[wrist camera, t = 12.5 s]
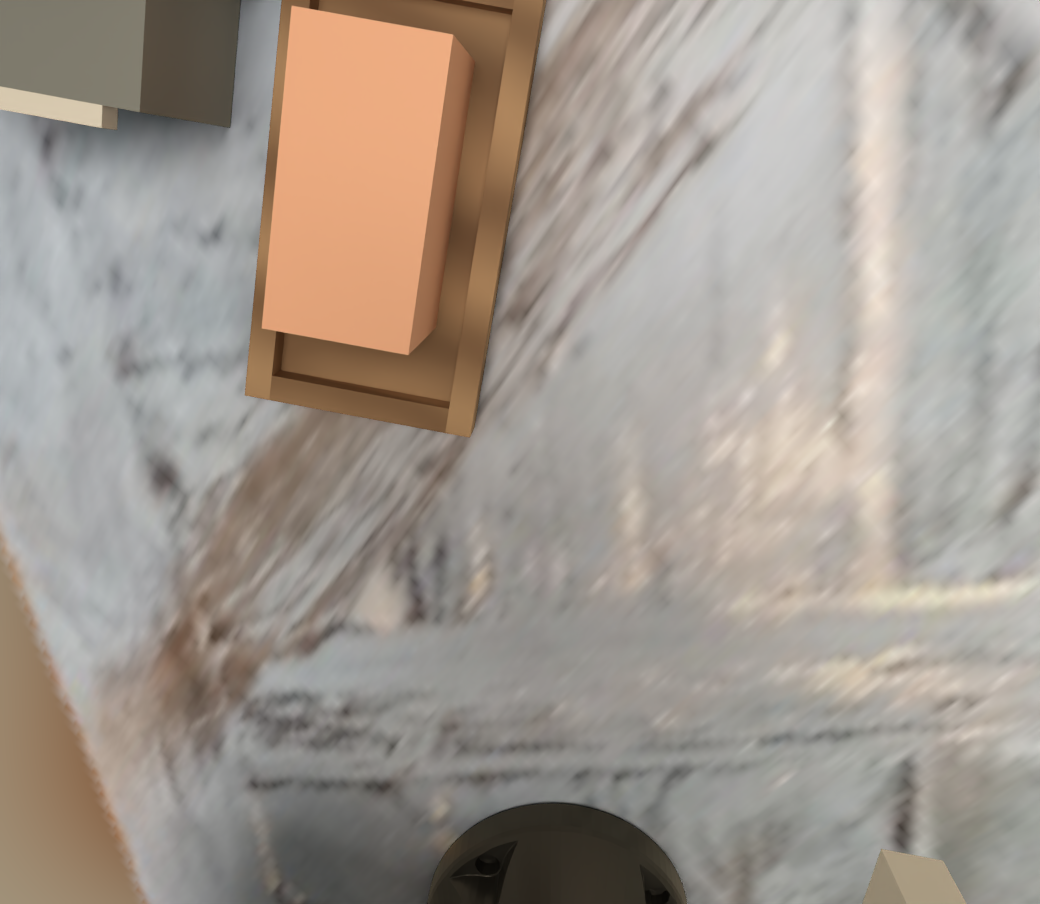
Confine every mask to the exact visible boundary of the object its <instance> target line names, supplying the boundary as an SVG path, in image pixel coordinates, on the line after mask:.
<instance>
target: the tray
mask: <svg viewBox="0 0 1040 904" xmlns="http://www.w3.org/2000/svg"><path fill="white" fill-rule="evenodd" d="M545 5H546V0H282V3H281V14H280V24H279V35H278V46H277V56H276V67H275V78H274V88H273V99H272V110H271V120H270V131H269V142H268V153H267V163H266V174H265V185H264V195H263V206H262V217H261V227H260V238H259V249H258V259H257V270H256V281H255V292H254V302H253V313H252V324H251V334H250V345H249V356H248V366H247V377H246V388H245V395H246V396H251V397H257V398H262V399H267V400H273V401H278V402H283V403H289V404H294V405H299V406H305V407H310V408H315V409H321V410H326V411H331V412H337V413H342V414H347V415H353V416H358V417H363V418H369V419H374V420H379V421H385V422H390V423H395V424H401V425H406V426H411V427H417V428H422V429H427V430H433V431H438V432H443V433H449V434H454V435H459V436H465V437H470V436H471V434H472V431H473V429H474V426H475V420H476V414H477V408H478V402H479V397H480V391H481V385H482V379H483V373H484V367H485V361H486V355H487V349H488V343H489V337H490V331H491V325H492V319H493V314H494V308H495V302H496V296H497V290H498V284H499V278H500V272H501V266H502V260H503V254H504V248H505V242H506V237H507V231H508V225H509V219H510V213H511V207H512V201H513V195H514V189H515V183H516V177H517V171H518V165H519V160H520V154H521V148H522V142H523V136H524V130H525V124H526V118H527V112H528V106H529V100H530V94H531V88H532V82H533V77H534V71H535V65H536V59H537V53H538V47H539V41H540V35H541V29H542V23H543V17H544V11H545ZM292 6H297V7H303V8H308V9H314V10H319V11H325V12H330V13H336V14H342V15H347V16H353V17H358V18H364V19H369V20H375V21H381V22H386V23H392V24H397V25H403V26H408V27H414V28H420V29H425V30H431V31H436V32H442V33H448V34H453V35H454V36H455V37H456V39H457V40H458V41H459V42H460V44H461V45H462V46H463V47H464V48H465V50H466V51H467V52H468V53H469V55H470V56H471V57H472V58H473V59H474V61H475V66H474V73H473V80H472V86H471V93H470V100H469V107H468V113H467V120H466V127H465V134H464V141H463V147H462V154H461V161H460V168H459V175H458V181H457V188H456V195H455V202H454V208H453V215H452V222H451V229H450V236H449V242H448V249H447V256H446V263H445V270H444V276H443V283H442V290H441V297H440V303H439V310H438V317H437V324H436V328H435V329H434V330H433V331H432V332H431V333H430V334H429V335H428V336H427V337H426V338H425V339H424V340H423V341H422V342H421V343H420V344H419V345H418V346H417V347H416V348H415V349H414V350H413V351H412V352H411V353H410V354H409V355H405V354H399V353H394V352H388V351H383V350H377V349H372V348H366V347H361V346H356V345H350V344H345V343H339V342H334V341H328V340H323V339H317V338H312V337H306V336H301V335H295V334H290V333H284V332H279V331H273V330H268V329H263V328H262V319H263V308H264V298H265V287H266V276H267V265H268V255H269V244H270V233H271V222H272V211H273V201H274V190H275V179H276V168H277V158H278V147H279V136H280V125H281V115H282V104H283V93H284V82H285V71H286V61H287V50H288V39H289V28H290V18H291V7H292Z"/></svg>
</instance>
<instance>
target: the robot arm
mask: <svg viewBox="0 0 1040 904" xmlns="http://www.w3.org/2000/svg"><path fill="white" fill-rule="evenodd" d="M427 904H687V901H686V896H685V891H684V888H683V885H682V882H681V880H680V878H679V875H678V873H677V871H676V870H675V868H674V866H673V865H672V863H671V861H670V860H669V859H668V857H667V856H666V855H665V853H664V852H663V851H662V850H661V849H660V848H659V847H658V846H657V845H656V844H655V843H654V842H653V841H652V840H651V839H650V838H649V837H648V836H646V835H645V834H644V833H642V832H641V831H640V830H638V829H637V828H635V827H634V826H632V825H630V824H629V823H627V822H625V821H623V820H621V819H619V818H617V817H615V816H612V815H610V814H607V813H604V812H602V811H598V810H595V809H591V808H587V807H582V806H576V805H568V804H537V805H529V806H523V807H518V808H514V809H511V810H507V811H504V812H501V813H499V814H496V815H494V816H492V817H489V818H487V819H485V820H484V821H482V822H480V823H478V824H477V825H475V826H474V827H472V828H471V829H469V830H468V831H467V832H465V833H464V834H463V835H462V836H461V837H460V838H459V839H457V840H456V842H455V843H454V844H453V845H452V846H451V847H450V848H449V850H448V851H447V852H446V853H445V855H444V856H443V858H442V859H441V861H440V863H439V865H438V867H437V869H436V871H435V874H434V876H433V880H432V883H431V887H430V892H429V897H428V901H427ZM862 904H966V902H965V900H964V899H963V897H962V895H961V893H960V891H959V889H958V888H957V886H956V884H955V882H954V880H953V878H952V876H951V875H950V873H949V871H948V869H947V867H946V865H945V864H944V862H943V861H941V860H936V859H931V858H926V857H920V856H915V855H910V854H905V853H899V852H894V851H889V850H884V849H881V851H880V854H879V857H878V860H877V863H876V866H875V869H874V872H873V875H872V877H871V880H870V883H869V886H868V889H867V892H866V895H865V898H864V900H863V903H862Z"/></svg>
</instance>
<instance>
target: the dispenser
mask: <svg viewBox="0 0 1040 904" xmlns="http://www.w3.org/2000/svg"><path fill="white" fill-rule="evenodd" d="M240 2H241V0H0V109H2V110H7V111H13V112H18V113H23V114H29V115H34V116H40V117H45V118H50V119H56V120H61V121H67V122H72V123H77V124H83V125H88V126H94V127H99V128H106V129H114V130H117V119H118V108H120V109H125V110H130V111H136V112H141V113H147V114H153V115H159V116H165V117H171V118H176V119H182V120H188V121H194V122H200V123H206V124H211V125H217V126H223V127H229V128H230V124H231V112H232V100H233V87H234V75H235V63H236V51H237V39H238V26H239V14H240Z"/></svg>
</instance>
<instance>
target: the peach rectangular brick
mask: <svg viewBox="0 0 1040 904" xmlns="http://www.w3.org/2000/svg"><path fill="white" fill-rule="evenodd" d="M474 66H475V61H474V59H473V58H472V57H471V56H470V55H469V53H468V52H467V51H466V50H465V48H464V47H463V46H462V45H461V44H460V42H459V41H458V40H457V39H456V37H455V36H454V35H453V34H448V33H442V32H436V31H431V30H425V29H420V28H414V27H408V26H403V25H397V24H392V23H386V22H381V21H375V20H369V19H364V18H358V17H353V16H347V15H342V14H336V13H330V12H325V11H319V10H314V9H308V8H303V7H297V6H292V7H291V18H290V28H289V39H288V50H287V61H286V71H285V82H284V93H283V104H282V115H281V125H280V136H279V147H278V158H277V168H276V179H275V190H274V201H273V211H272V222H271V233H270V244H269V255H268V265H267V276H266V287H265V298H264V308H263V319H262V328H263V329H268V330H273V331H279V332H284V333H290V334H295V335H301V336H306V337H312V338H317V339H323V340H328V341H334V342H339V343H345V344H350V345H356V346H361V347H366V348H372V349H377V350H383V351H388V352H394V353H399V354H405V355H409V354H410V353H411V352H412V351H413V350H414V349H415V348H416V347H417V346H418V345H419V344H420V343H421V342H422V341H423V340H424V339H425V338H426V337H427V336H428V335H429V334H430V333H431V332H432V331H433V330H434V329H435V328H436V324H437V317H438V310H439V303H440V297H441V290H442V283H443V276H444V270H445V263H446V256H447V249H448V242H449V236H450V229H451V222H452V215H453V208H454V202H455V195H456V188H457V181H458V175H459V168H460V161H461V154H462V147H463V141H464V134H465V127H466V120H467V113H468V107H469V100H470V93H471V86H472V80H473V73H474Z"/></svg>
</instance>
